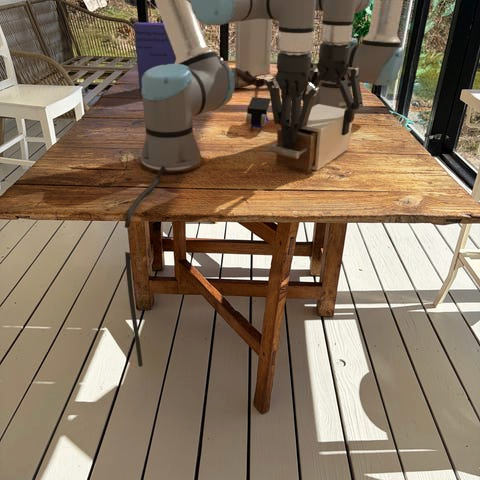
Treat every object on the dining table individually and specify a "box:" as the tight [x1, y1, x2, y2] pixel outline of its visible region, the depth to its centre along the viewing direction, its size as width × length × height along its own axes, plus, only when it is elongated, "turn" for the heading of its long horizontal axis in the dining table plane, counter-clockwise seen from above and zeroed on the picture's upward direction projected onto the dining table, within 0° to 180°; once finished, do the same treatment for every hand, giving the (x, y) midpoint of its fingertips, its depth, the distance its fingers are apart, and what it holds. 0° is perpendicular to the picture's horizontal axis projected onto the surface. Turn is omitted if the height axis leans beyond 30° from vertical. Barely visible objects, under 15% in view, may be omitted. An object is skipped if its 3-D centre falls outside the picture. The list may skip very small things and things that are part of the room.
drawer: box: [267, 127, 318, 172], centre depth 122 cm, size 23×10×9 cm, turn 144°
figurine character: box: [245, 96, 271, 132], centre depth 148 cm, size 7×8×15 cm
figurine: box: [230, 66, 275, 89], centre depth 190 cm, size 24×8×30 cm
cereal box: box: [133, 21, 176, 91], centre depth 182 cm, size 17×5×24 cm, turn 86°
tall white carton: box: [234, 19, 273, 77], centre depth 210 cm, size 19×15×28 cm
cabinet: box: [289, 104, 353, 171], centre depth 126 cm, size 19×11×11 cm, turn 144°
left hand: (288, 154), depth 116 cm, fingers closed
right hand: (325, 129), depth 129 cm, fingers closed on cabinet, 11 cm apart
